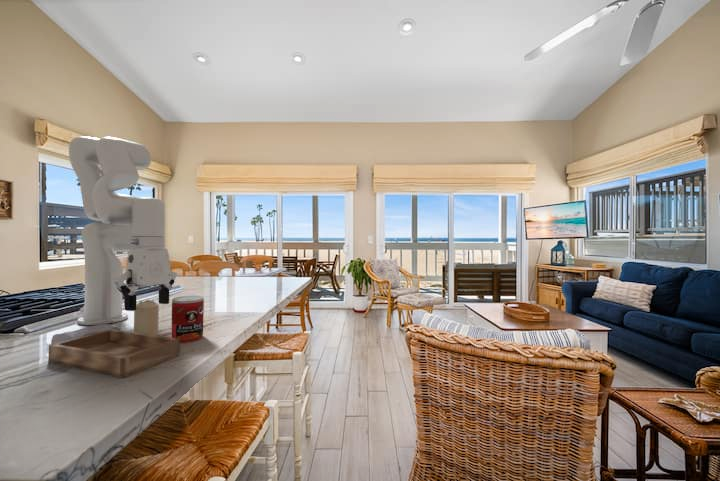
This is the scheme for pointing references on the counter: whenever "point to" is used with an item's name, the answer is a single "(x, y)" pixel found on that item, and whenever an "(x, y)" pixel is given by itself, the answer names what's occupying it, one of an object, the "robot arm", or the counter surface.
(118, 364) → the tray
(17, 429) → the counter surface
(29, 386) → the counter surface
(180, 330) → the canned food
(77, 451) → the counter surface
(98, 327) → the stone block
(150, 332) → the candle
